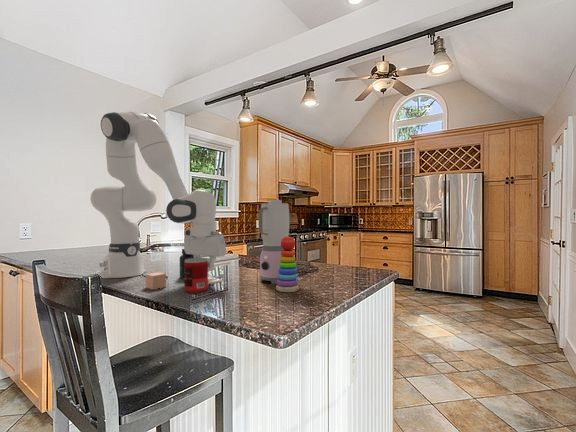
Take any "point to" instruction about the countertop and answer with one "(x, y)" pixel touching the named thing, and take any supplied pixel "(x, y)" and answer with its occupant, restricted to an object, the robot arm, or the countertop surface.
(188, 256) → the supplement bottle
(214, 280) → the build plate
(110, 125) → the robot arm
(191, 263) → the canned food
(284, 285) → the stacking toy
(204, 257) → the block
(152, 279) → the block
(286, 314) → the countertop surface
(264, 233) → the blender
